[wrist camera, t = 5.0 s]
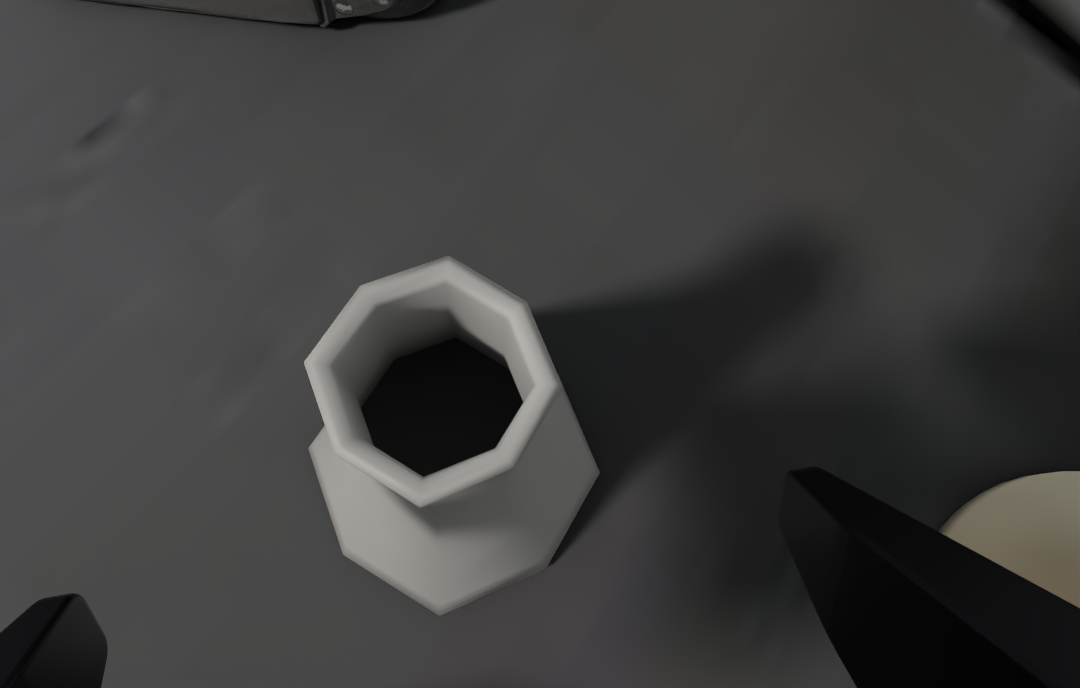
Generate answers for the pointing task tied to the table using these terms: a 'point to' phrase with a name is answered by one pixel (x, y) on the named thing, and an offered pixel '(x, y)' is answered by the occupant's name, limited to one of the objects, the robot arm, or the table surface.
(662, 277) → the table surface
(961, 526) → the coaster
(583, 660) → the table surface
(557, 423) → the flask
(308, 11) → the camera
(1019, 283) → the table surface
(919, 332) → the table surface
